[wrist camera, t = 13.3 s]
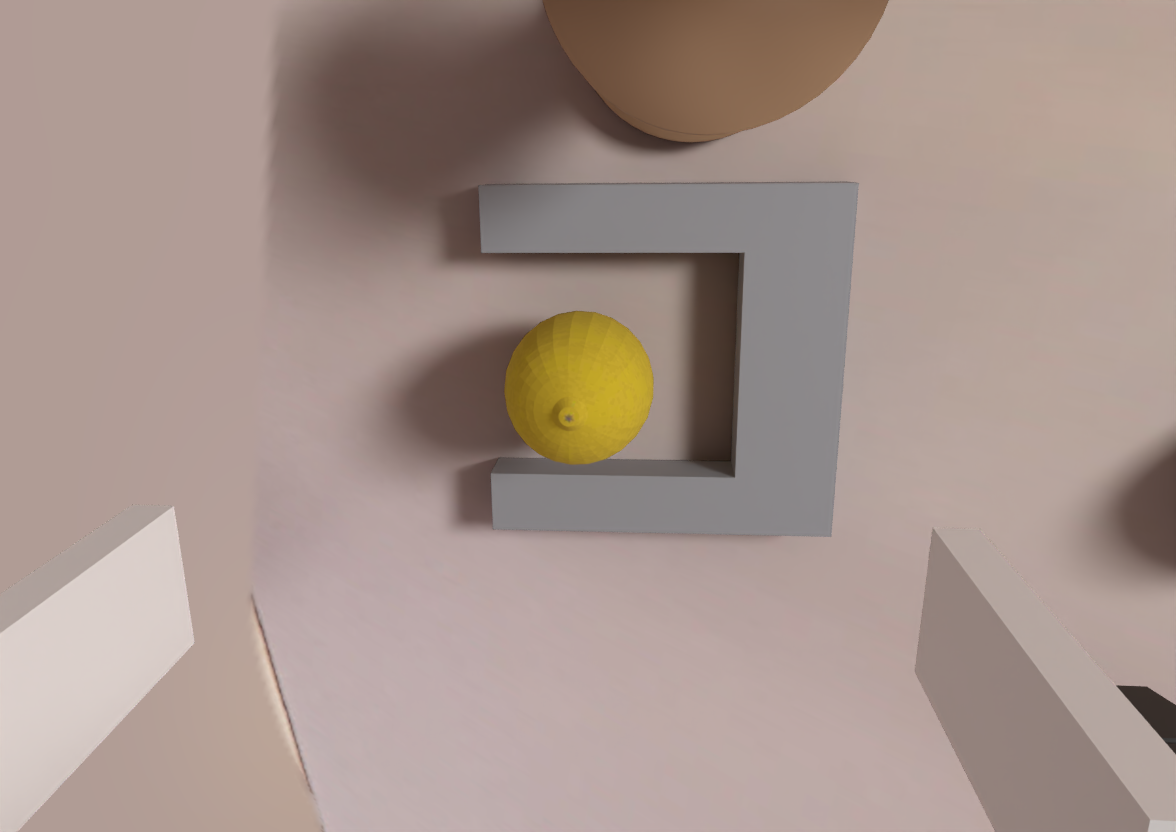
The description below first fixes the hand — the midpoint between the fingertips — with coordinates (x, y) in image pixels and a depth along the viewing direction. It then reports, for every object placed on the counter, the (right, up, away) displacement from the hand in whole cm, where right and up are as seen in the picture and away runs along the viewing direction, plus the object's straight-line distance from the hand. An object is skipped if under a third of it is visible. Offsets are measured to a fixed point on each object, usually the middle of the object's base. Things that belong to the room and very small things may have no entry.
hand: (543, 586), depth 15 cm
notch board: (+4, +5, +21) cm, 22 cm away
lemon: (+1, +5, +21) cm, 22 cm away
